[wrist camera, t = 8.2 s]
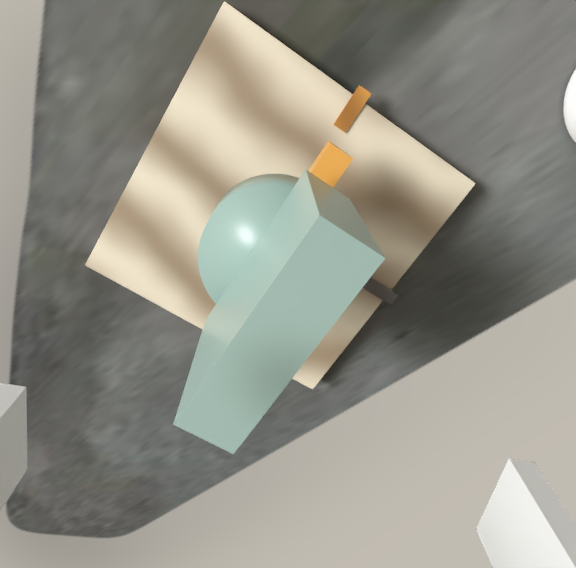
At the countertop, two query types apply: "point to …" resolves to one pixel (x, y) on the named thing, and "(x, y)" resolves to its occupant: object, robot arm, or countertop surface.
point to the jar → (570, 106)
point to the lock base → (268, 160)
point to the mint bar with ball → (271, 292)
